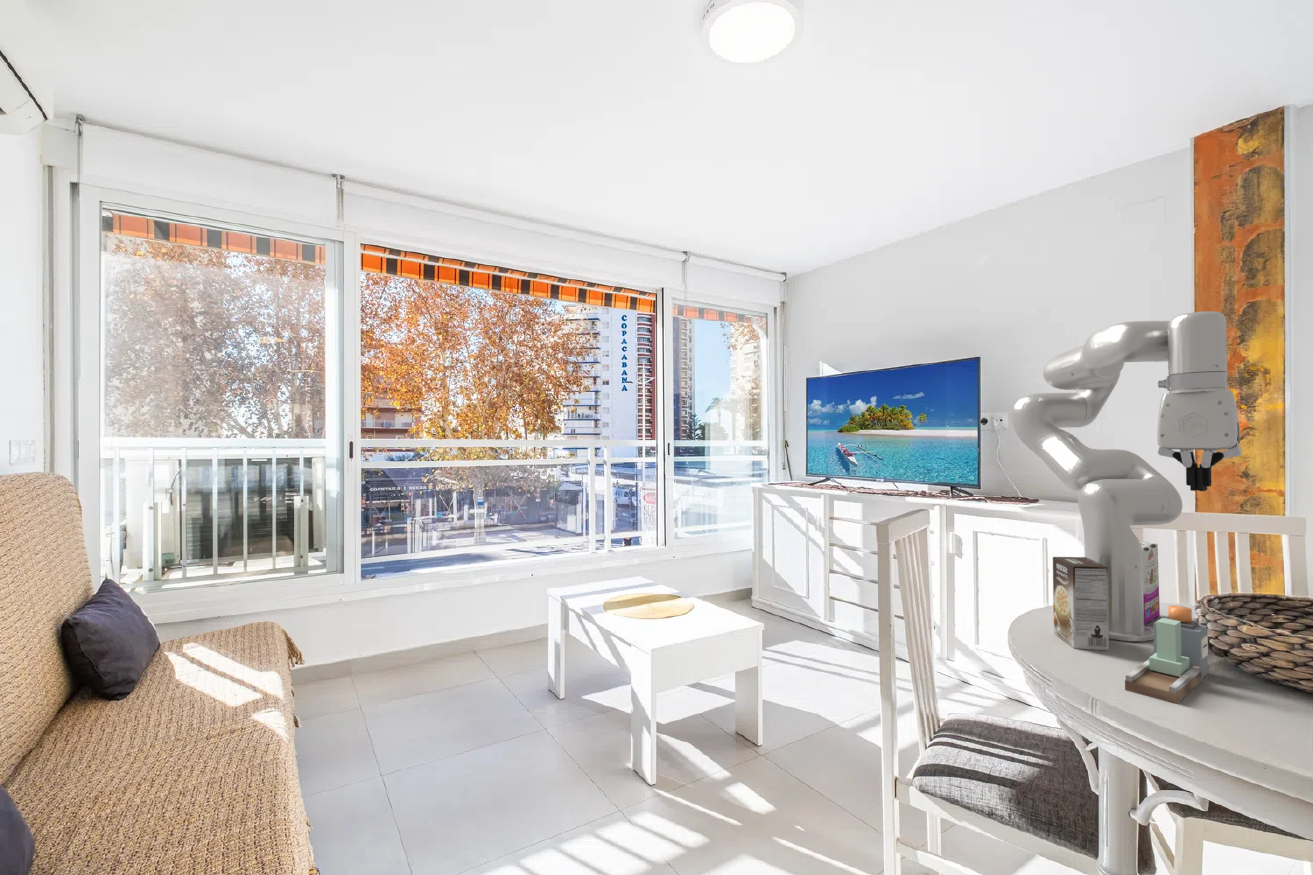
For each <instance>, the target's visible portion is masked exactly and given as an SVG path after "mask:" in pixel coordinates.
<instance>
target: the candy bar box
mask: <svg viewBox="0 0 1313 875" xmlns="http://www.w3.org/2000/svg"><path fill="white" fill-rule="evenodd" d="M1139 542H1140V544H1141V547H1142V552H1143V598H1144V626H1147V625H1148V624H1149V623H1151V622H1152V621H1154V620H1155V619H1157V618H1158V617H1160V616H1161V613H1160V612H1161V609H1160V583H1159V582H1160V581H1159V577H1160V576H1159V575H1160V574H1159V558H1158V557H1159V554H1158V553H1159V552H1158V551H1159V550H1158V545H1159V544H1158V543H1156V542H1147V541H1139Z"/></svg>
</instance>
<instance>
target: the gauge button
mask: <svg viewBox="0 0 1313 875" xmlns="http://www.w3.org/2000/svg"><path fill="white" fill-rule="evenodd" d="M1192 611H1193V610H1192V608H1191V607H1186V606H1182V605H1173V604H1172V605H1168V610H1167V612H1168V616H1169V619H1171V620H1176V621H1181V622H1192V621H1193V618H1192V616H1193V615H1192V614H1193V612H1192Z"/></svg>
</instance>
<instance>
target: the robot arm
mask: <svg viewBox="0 0 1313 875" xmlns="http://www.w3.org/2000/svg"><path fill="white" fill-rule="evenodd" d="M1227 343H1228V342H1227V318H1226V316H1225V315H1224V314H1223V313H1222V312H1219V311H1213V310H1212V311H1211V310H1210V311H1209V310H1208V311H1207V310H1206V311H1195V312H1188V313H1187V312H1186V313H1183V314H1178V315H1175V316H1174V317H1172V318H1171V319H1170V320H1139V321H1138V320H1137V321H1123V322H1119V323H1114V324H1112V325H1109V326H1107V327H1104V328H1102V329H1099V330H1097V331H1095V332H1093V333H1091V334H1090V335H1089V336H1088V338H1087V339H1086V340H1085V342H1084V344H1083V345H1082V346H1081V345H1080V346H1079V347H1076V348H1073V349H1070V350H1068V351H1065V352H1062V353H1059V354H1057V355H1056V356H1054V357H1052V358H1051V359H1050V360H1049V361H1048V362H1047V363H1046V364H1045V366H1044V368H1043V372H1042V374H1043V378H1044V380H1045V382H1046V383H1047V384H1048V385H1050V386H1051V387H1052V388H1054V389H1055V388H1056V389H1059V390H1064V391H1065V390H1067V391H1070V390H1071V391H1073V390H1075V391H1076V392H1040V393H1031V394H1027V395H1025V396H1021V397H1020V398H1018V400H1016V401H1014V404H1012V408H1011V412H1010V413H1011V414H1010V415H1011V423H1012V427H1013V429H1014V432H1015V433H1016V435H1017V437H1018V438H1019V440H1020V441H1021V442H1022V443H1023V444H1024V445H1025V446H1026V447H1027V448H1028V449H1029V450H1031V451H1032V452H1033V453H1034V454H1035V455H1037V456H1038V457H1039V459H1041V460H1042V461H1043V462H1044V464H1046V466H1047V468H1049V469H1050V471H1052V472H1053V474H1054V475H1055V476H1056V477H1057V478H1058V479H1059V480H1060V481H1061V483H1063V484H1064V485H1065V486H1066V487H1067V488H1069V489H1070V490H1072V491H1074V492H1078V496H1077V504H1078V510H1079V514H1080V519H1081V521H1082V528H1083V539H1084V540H1083V542H1084V543H1083V544H1084V557H1087V558H1089V559H1091V560H1093V561H1096V562H1098V563H1100V564H1102V565H1105V566H1107V567H1108V594H1109V640H1117V641H1123V642H1124V641H1125V642H1147V641H1151V640H1154V629H1153V630H1152V629H1151V628H1149V627H1148V626H1147V625H1144V598H1143V552H1142V547H1141V544H1140V542H1141V541H1140V540H1139V538H1138V537H1137V535H1136V533H1135V532H1134V531H1133V530H1132V527H1131V526H1158V525H1166V524H1170V523H1172V522H1175V520H1176V519H1178V518H1179V517H1180V516H1181V514H1182V510H1183V500H1182V496H1181V495H1180V493H1179V491H1178V490H1177V488H1176V487H1175V486H1174V485H1173V484H1172V483H1171V481H1169V480H1168V479H1167V478H1166V477H1165V476H1164V475H1162V474H1161V473H1160V472H1159V471H1158V470H1157V469H1155V468H1154V467H1153V466H1152V465H1151V464H1149V463H1148V462H1147V461H1146V460H1145V459H1143V458H1142V457H1141V456H1140V455H1138V454H1136V453H1134V452H1132V451H1130V450H1124V449H1108V448H1107V449H1104V448H1103V449H1099V448H1097V449H1096V448H1091V447H1088V446H1087V445H1085V444H1084V443H1082V442H1081V441H1080V439H1078V438H1077V436H1075V435H1073V434H1072V433H1070V432H1069V431H1067V430H1063V429H1065V428H1066V429H1067V428H1069V429H1070V428H1082V427H1087V426H1088V425H1090V424H1091V423H1093V422H1094V421H1095V420H1096V418H1097V417H1098V415H1099V414H1100V412H1101V411H1102V409H1103V407H1104V405H1105V403H1107V401H1108V399H1109V398H1110V396H1111V394H1112V392H1113V391H1114V390H1115V388H1116V386H1117V384H1118V381H1119V380H1120V376H1121V372H1122V370H1123V369H1124V366H1125V363H1134V362H1135V363H1142V362H1143V363H1144V362H1145V363H1146V362H1147V363H1149V362H1151V363H1152V362H1154V363H1155V362H1156V363H1157V362H1161V363H1162V362H1164V363H1165V362H1168V364H1167V367H1168V375H1167V376H1166V378H1165V379H1163V380H1158V381H1157V382H1158V383H1157V385H1158V388H1159V389H1166V390H1167V391H1168V393H1163V394H1162V395H1161V399H1160V404H1159V412H1158V420H1157V430H1156V431H1157V432H1156V434H1157V437H1156V440H1157V445H1158V451H1157V454H1158V455H1159V456H1162V457H1167V458H1172V459H1175V460H1176V461H1177V462H1179V463H1180V464H1181V465H1182V466H1183V467H1184V468H1185V480H1186V481H1185V483H1186V486H1190V488H1189V489H1190V491H1192V492H1193V491H1194V492H1196V491H1198V492H1205V491H1206V492H1207V491H1208V487H1212V468H1213V467H1214V466H1215V465H1216V464H1218V463H1219V462H1220V461H1222V460H1223V459H1224V460H1225V459H1229V458H1235V457H1240V456H1242V454H1243V451H1242V450H1241V446H1240V443H1241V442H1240V441H1241V431H1240V420H1239V413H1238V408H1237V402H1236V399H1235V396H1234V395H1235V393H1234V392H1233V391H1232V390H1228V359H1227V358H1228V357H1227V355H1228V352H1227ZM1061 428H1062V429H1061ZM1198 450H1199V451H1201V450H1202V455H1201V462H1200V463H1199V464H1198V463H1197V461H1196V457H1195V453H1194V452H1195V451H1198ZM1218 450H1222V451H1218ZM1198 465H1199V466H1198Z"/></svg>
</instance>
